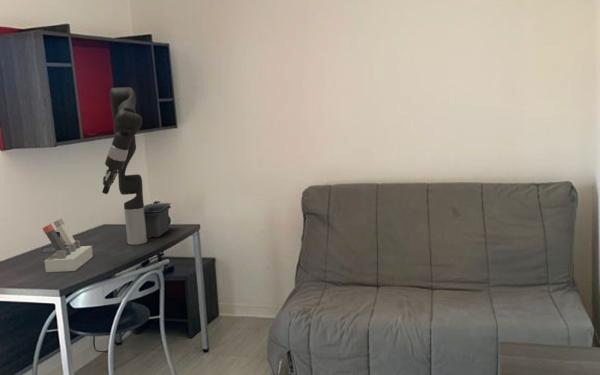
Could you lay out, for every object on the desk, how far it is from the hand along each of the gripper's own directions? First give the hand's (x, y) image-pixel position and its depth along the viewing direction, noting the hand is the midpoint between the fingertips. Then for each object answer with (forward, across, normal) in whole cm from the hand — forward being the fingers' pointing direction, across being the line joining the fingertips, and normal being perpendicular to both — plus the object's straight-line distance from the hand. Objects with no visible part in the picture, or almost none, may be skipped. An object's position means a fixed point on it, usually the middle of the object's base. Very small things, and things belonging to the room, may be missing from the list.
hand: (105, 193), depth 256 cm
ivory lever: (+29, 0, -6) cm, 30 cm away
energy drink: (+40, -9, -11) cm, 42 cm away
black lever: (+28, +11, -6) cm, 30 cm away
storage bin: (+31, -45, +20) cm, 58 cm away
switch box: (+34, +6, -3) cm, 35 cm away
